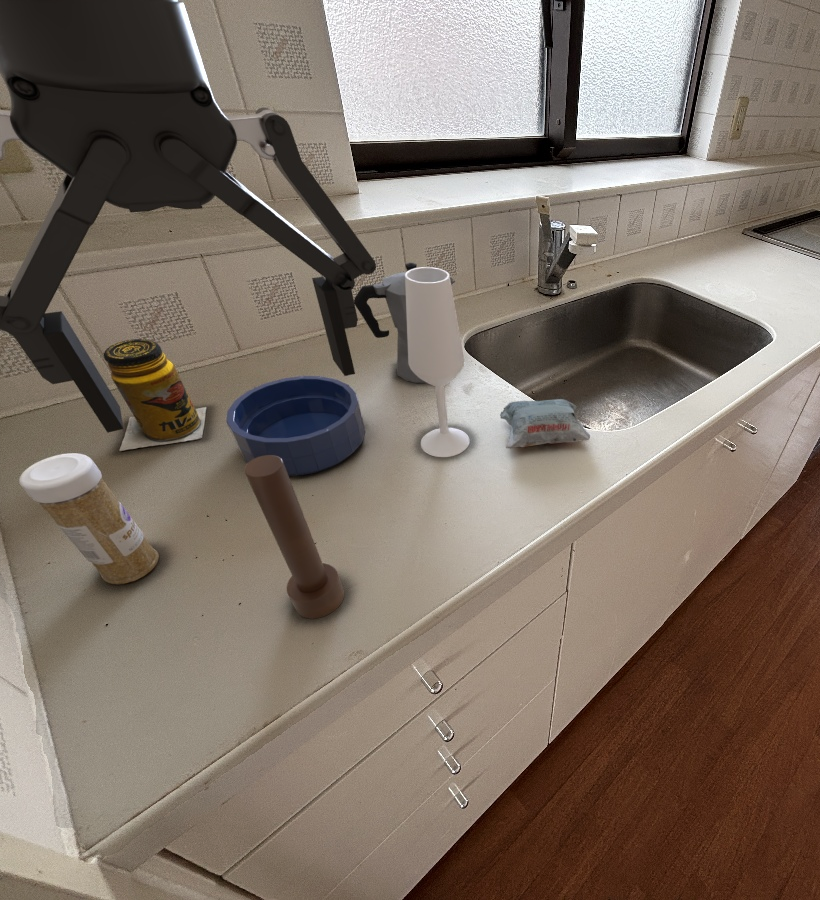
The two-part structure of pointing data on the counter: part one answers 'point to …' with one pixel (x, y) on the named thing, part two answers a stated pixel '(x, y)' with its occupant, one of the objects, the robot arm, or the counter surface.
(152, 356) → the condiment
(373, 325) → the coffeepot
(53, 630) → the counter surface
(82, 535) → the sprinkles bottle
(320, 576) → the muddler
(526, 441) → the packaged food
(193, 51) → the robot arm
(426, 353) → the champagne flute
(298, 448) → the bowl
